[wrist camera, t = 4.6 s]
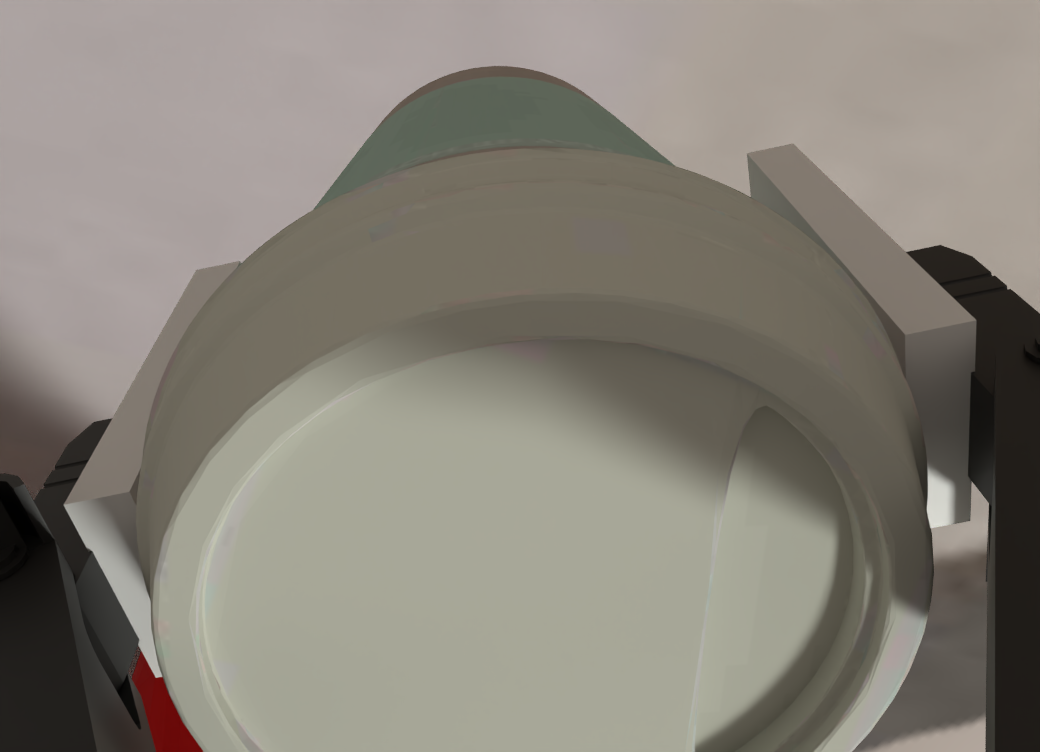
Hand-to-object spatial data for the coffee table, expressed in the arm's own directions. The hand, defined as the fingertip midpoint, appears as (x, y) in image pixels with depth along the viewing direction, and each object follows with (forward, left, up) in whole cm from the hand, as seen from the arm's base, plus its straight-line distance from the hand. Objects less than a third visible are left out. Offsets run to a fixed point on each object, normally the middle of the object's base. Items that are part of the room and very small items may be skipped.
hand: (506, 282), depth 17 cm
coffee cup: (0, 0, -4) cm, 4 cm away
